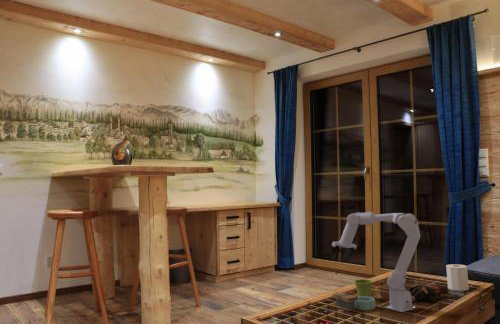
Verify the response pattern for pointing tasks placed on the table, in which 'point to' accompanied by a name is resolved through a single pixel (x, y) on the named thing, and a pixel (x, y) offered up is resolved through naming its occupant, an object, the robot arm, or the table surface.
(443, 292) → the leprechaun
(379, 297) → the table surface
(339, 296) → the walnut board
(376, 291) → the table surface
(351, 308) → the grey rectangular block
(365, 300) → the bowl
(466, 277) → the toilet paper
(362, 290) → the plant pot
